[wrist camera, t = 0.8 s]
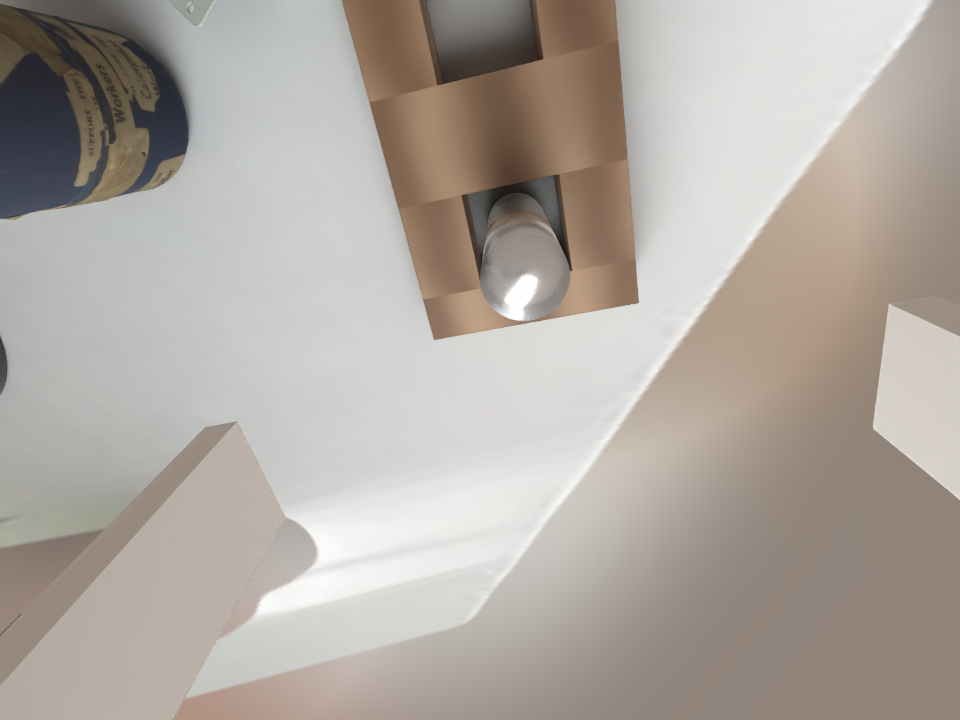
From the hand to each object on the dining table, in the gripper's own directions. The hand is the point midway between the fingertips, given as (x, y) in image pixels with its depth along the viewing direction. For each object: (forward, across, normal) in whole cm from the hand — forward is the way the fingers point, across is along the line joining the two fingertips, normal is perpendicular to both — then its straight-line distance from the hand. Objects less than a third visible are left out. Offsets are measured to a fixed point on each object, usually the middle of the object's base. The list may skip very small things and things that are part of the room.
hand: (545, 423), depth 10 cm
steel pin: (+27, 0, -1) cm, 27 cm away
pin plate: (+27, 0, +5) cm, 27 cm away
